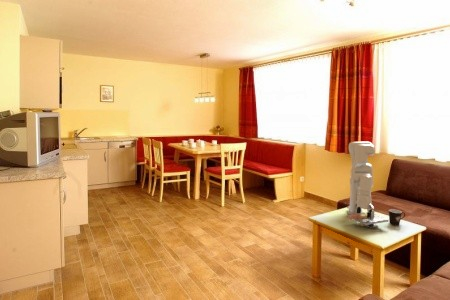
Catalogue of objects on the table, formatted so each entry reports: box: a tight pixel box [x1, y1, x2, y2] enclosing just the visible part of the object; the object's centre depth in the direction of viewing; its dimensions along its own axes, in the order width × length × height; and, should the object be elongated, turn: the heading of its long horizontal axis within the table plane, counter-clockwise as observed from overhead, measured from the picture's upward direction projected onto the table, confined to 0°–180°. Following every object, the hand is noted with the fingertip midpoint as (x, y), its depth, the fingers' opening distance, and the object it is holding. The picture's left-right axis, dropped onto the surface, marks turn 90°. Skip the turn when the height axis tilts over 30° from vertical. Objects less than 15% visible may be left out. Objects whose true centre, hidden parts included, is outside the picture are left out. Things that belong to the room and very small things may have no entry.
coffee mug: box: [388, 208, 406, 227], centre depth 224 cm, size 12×9×10 cm
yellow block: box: [359, 214, 367, 227], centre depth 219 cm, size 3×7×8 cm, turn 109°
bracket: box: [348, 213, 361, 221], centre depth 216 cm, size 6×8×3 cm
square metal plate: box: [346, 209, 389, 229], centre depth 220 cm, size 18×21×12 cm
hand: (363, 215), depth 218 cm, fingers open, 9 cm apart
